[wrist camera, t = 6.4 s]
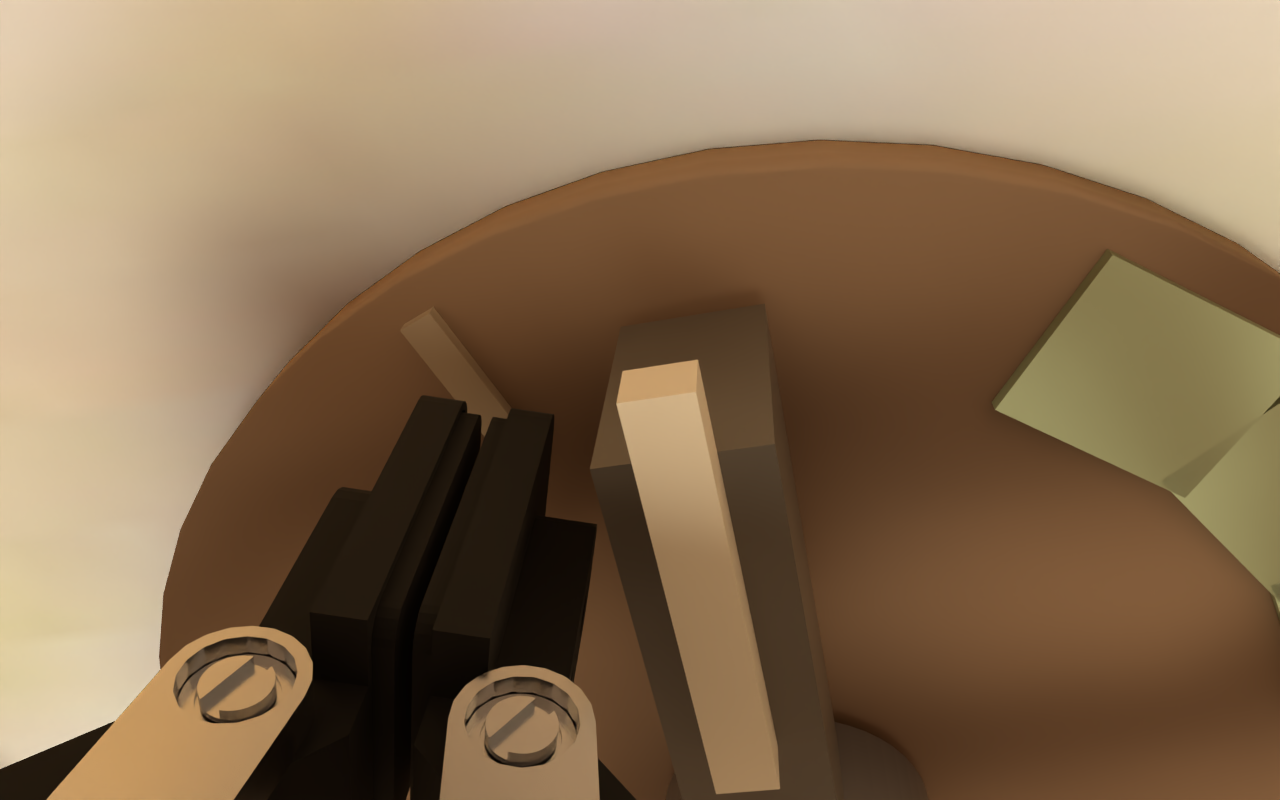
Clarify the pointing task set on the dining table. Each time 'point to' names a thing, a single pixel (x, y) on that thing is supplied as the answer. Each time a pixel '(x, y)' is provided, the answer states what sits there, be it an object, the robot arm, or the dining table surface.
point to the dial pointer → (724, 569)
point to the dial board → (865, 449)
